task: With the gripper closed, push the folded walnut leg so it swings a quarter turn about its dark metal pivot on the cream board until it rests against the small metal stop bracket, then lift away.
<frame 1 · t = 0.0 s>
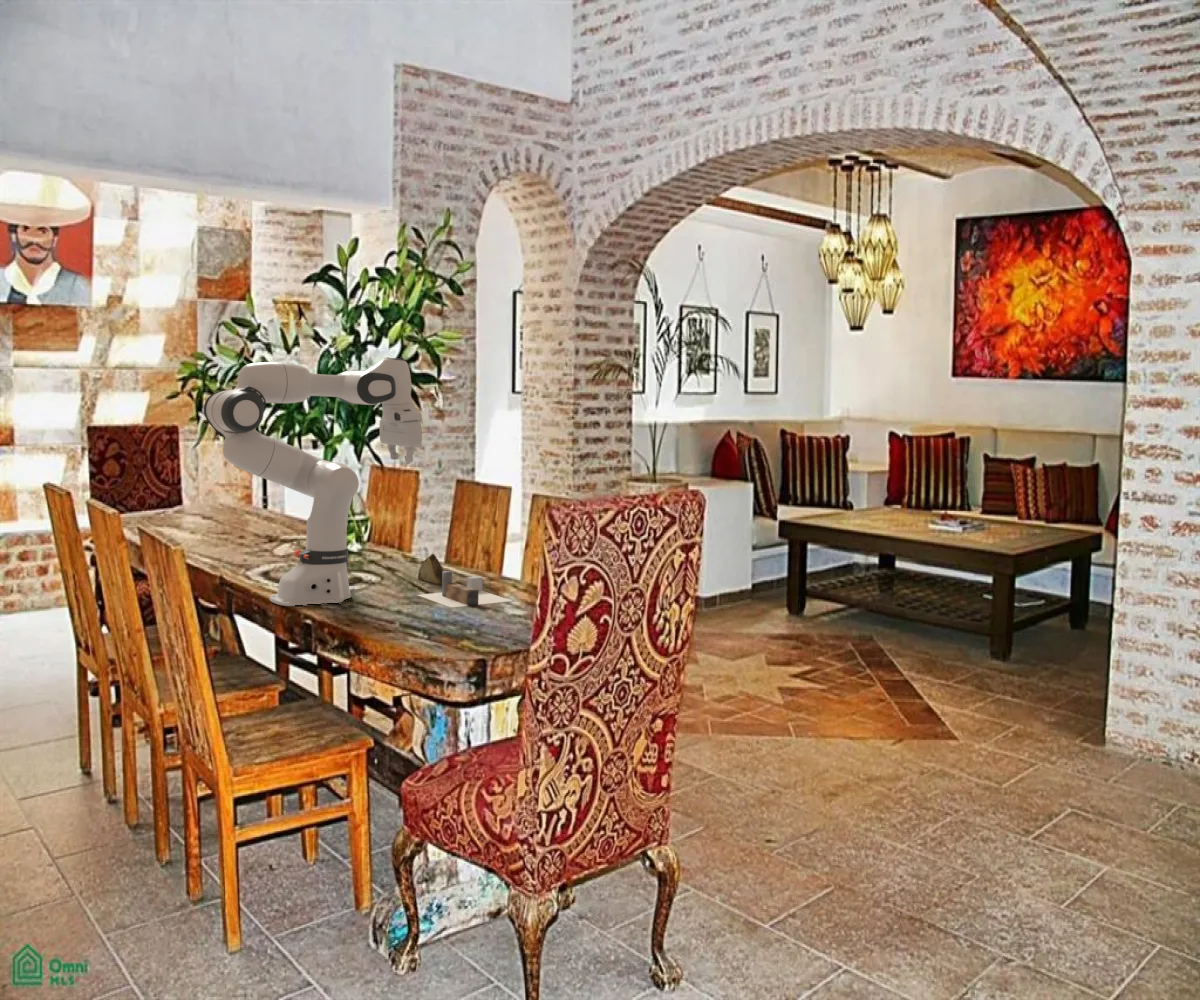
hand: (401, 460, 328), 39 cm above the table, tool pointing down, fingers open, 8 cm apart
stool base: (464, 600, 322), on the table
rock: (433, 584, 347), on the table
leg: (462, 594, 316), point 3 cm above the table, hinge at 0.0°, touching stool base
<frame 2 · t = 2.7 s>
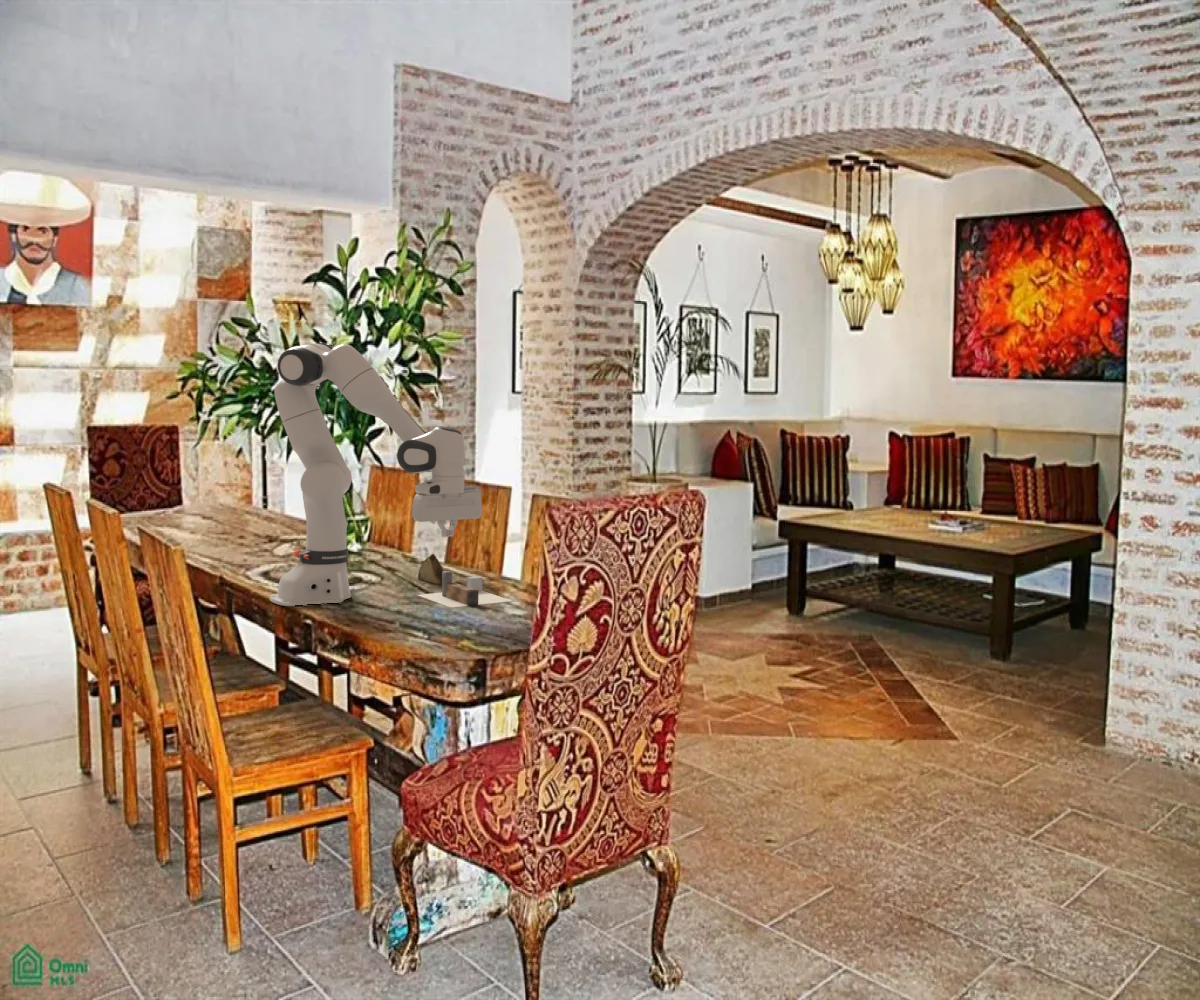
hand: (447, 536, 308), 20 cm above the table, tool pointing down, fingers closed
nothing on the table moved.
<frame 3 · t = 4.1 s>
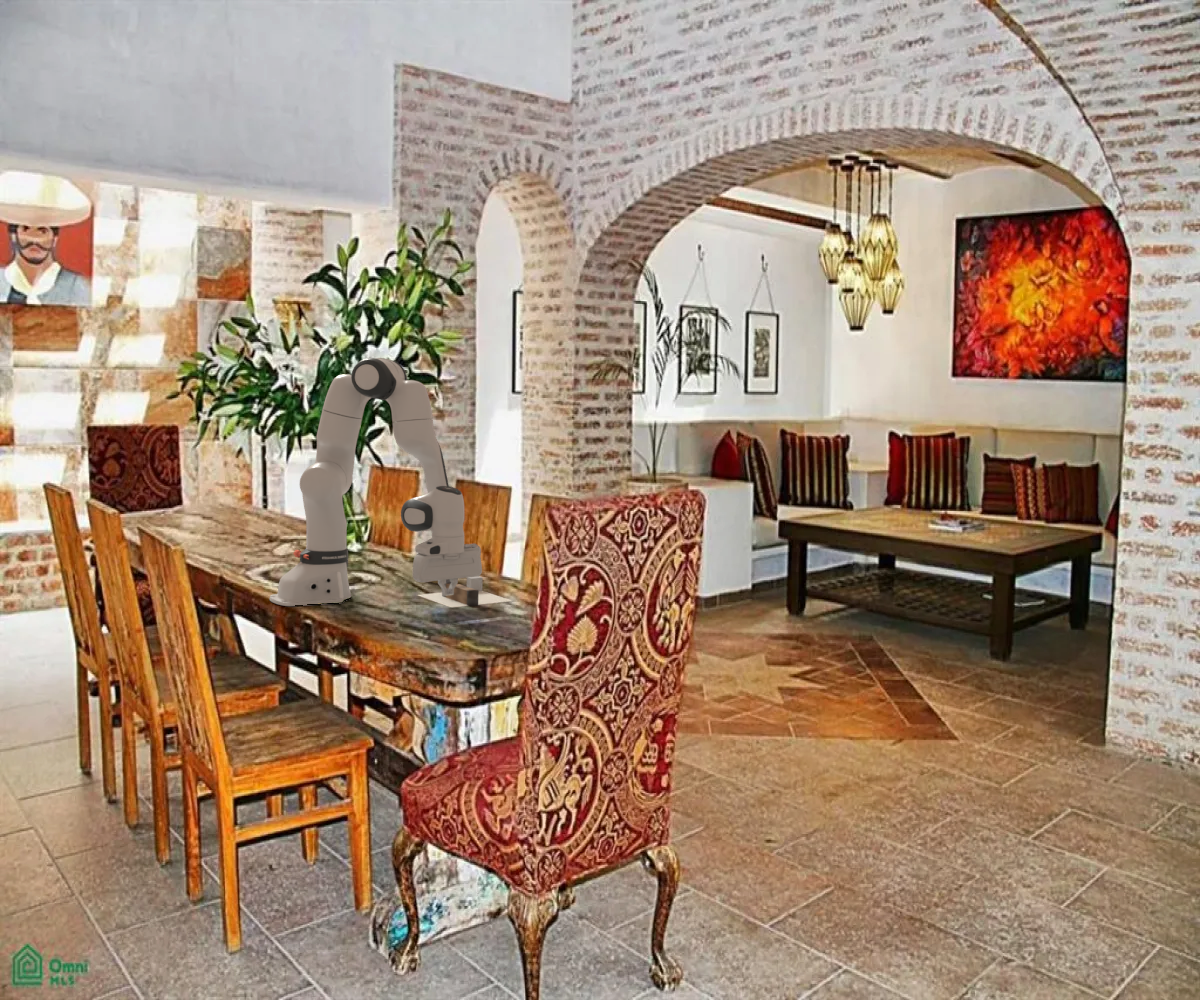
hand: (447, 595, 310), 4 cm above the table, tool pointing down, fingers closed
nothing on the table moved.
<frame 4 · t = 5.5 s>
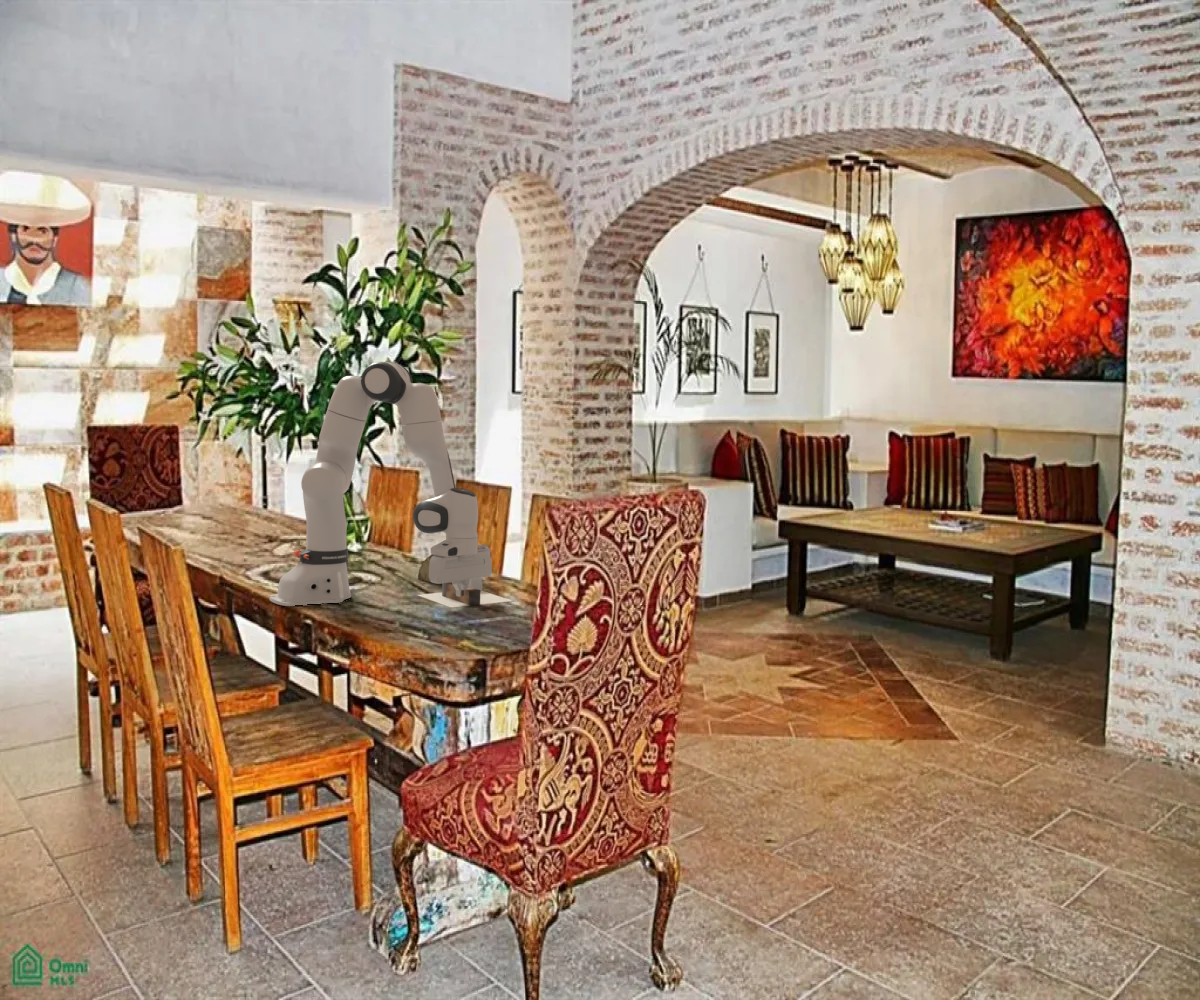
hand: (460, 595, 313), 3 cm above the table, tool pointing down, fingers closed
leg: (463, 594, 317), point 3 cm above the table, hinge at 2.4°, touching gripper, stool base
everything else where it was.
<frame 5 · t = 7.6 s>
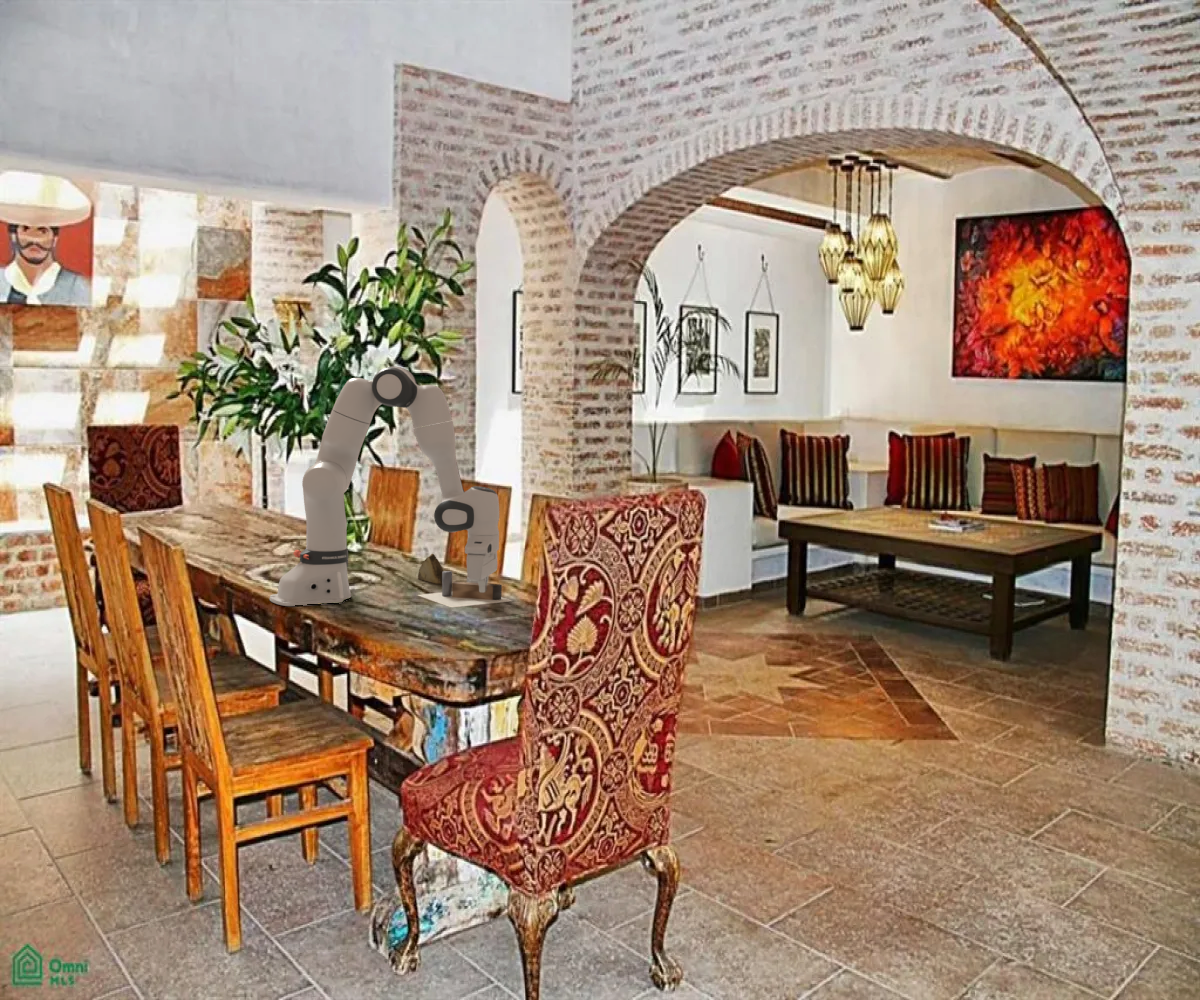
hand: (482, 591, 319), 3 cm above the table, tool pointing down, fingers closed
leg: (477, 590, 322), point 3 cm above the table, hinge at 44.3°, touching gripper, stool base
everything else where it was.
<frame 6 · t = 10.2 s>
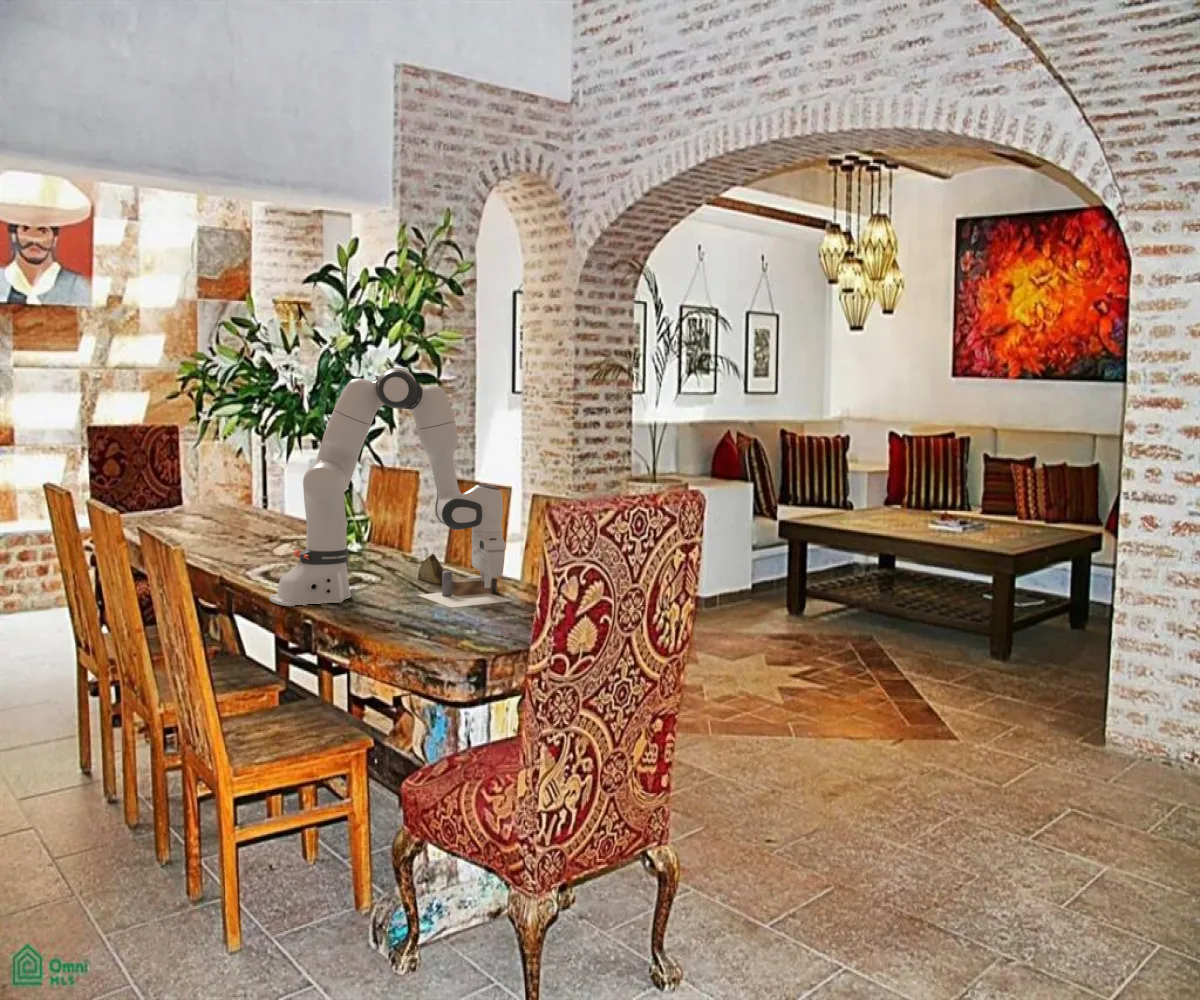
hand: (486, 587, 327), 3 cm above the table, tool pointing down, fingers closed
leg: (475, 586, 328), point 3 cm above the table, hinge at 86.8°
everything else where it was.
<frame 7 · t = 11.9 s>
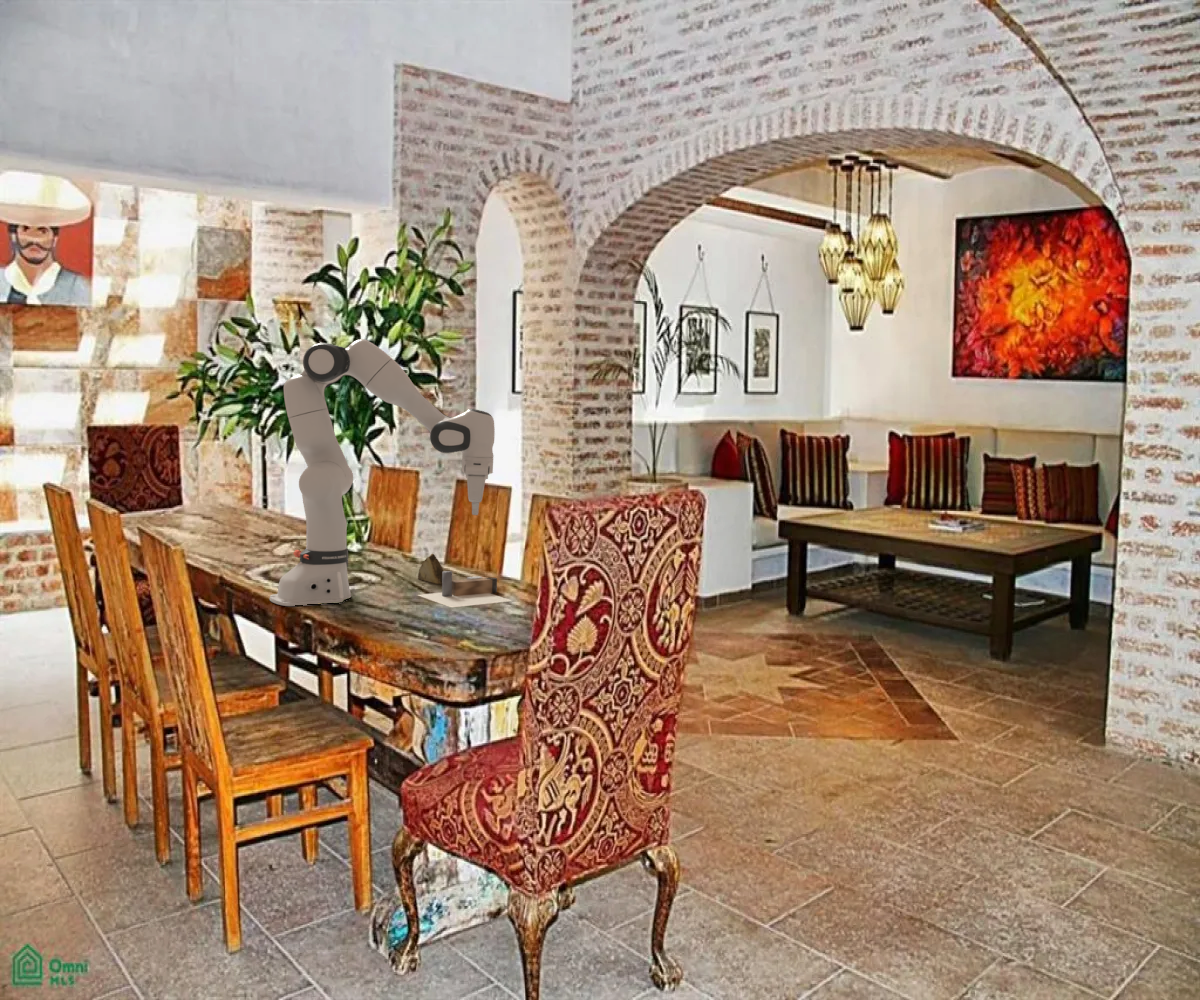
hand: (475, 514, 322), 25 cm above the table, tool pointing down, fingers closed
leg: (475, 586, 328), point 3 cm above the table, hinge at 86.8°, touching stool base
everything else where it was.
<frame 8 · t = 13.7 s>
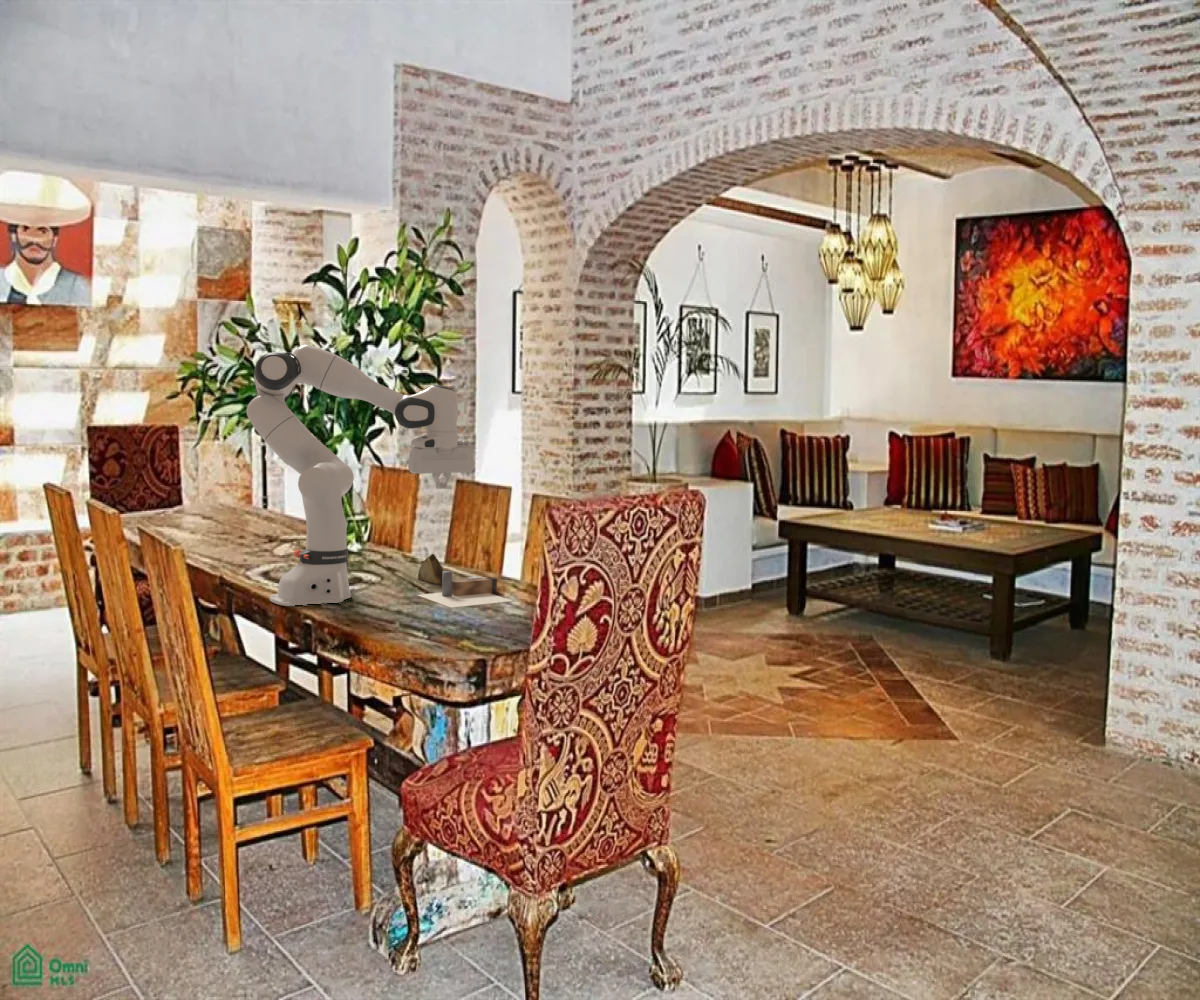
hand: (441, 488, 328), 31 cm above the table, tool pointing down, fingers closed
nothing on the table moved.
at the end: leg at +87° (first picture: +0°); rock moved 0.3 cm from its start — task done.
